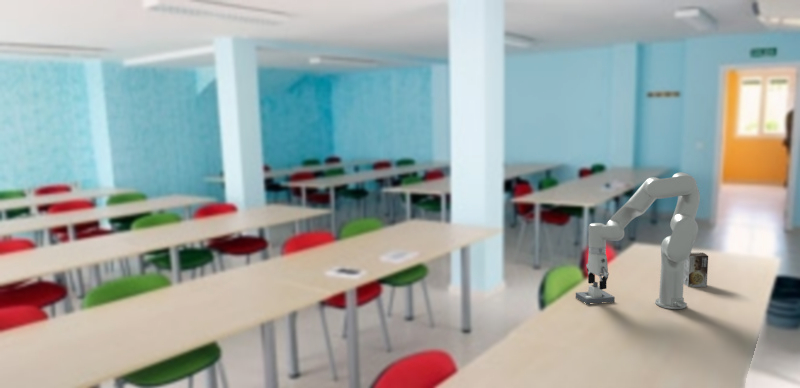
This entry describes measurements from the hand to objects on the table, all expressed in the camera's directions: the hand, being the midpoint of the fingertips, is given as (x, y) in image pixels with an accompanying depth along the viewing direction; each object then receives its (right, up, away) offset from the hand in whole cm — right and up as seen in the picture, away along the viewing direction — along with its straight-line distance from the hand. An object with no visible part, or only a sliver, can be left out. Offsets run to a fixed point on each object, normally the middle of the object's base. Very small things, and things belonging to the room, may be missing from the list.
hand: (597, 286), depth 264 cm
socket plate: (-1, -7, +1) cm, 7 cm away
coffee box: (+56, -3, +21) cm, 60 cm away
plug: (-1, -6, +1) cm, 6 cm away
